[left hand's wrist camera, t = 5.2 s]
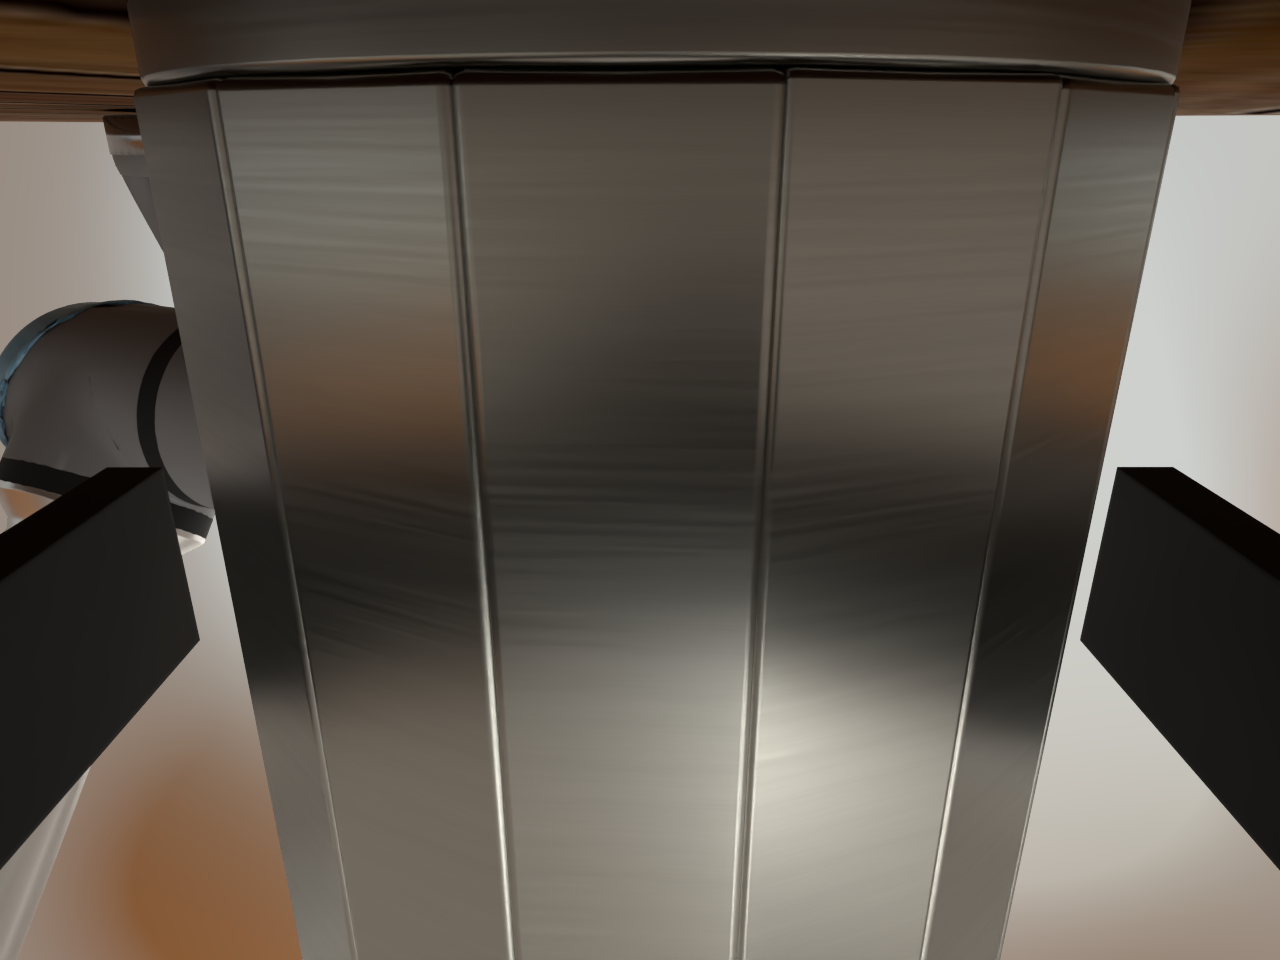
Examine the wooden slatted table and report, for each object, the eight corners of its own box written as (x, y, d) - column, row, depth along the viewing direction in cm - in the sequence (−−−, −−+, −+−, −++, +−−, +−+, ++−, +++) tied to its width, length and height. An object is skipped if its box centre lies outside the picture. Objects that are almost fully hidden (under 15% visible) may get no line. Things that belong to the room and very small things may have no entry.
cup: (1159, 43, 10) (1013, 782, 13) (518, 66, 13) (546, 651, 17) (1316, -184, 3) (923, 1490, 6) (-149, -8, 6) (154, 1021, 10)
